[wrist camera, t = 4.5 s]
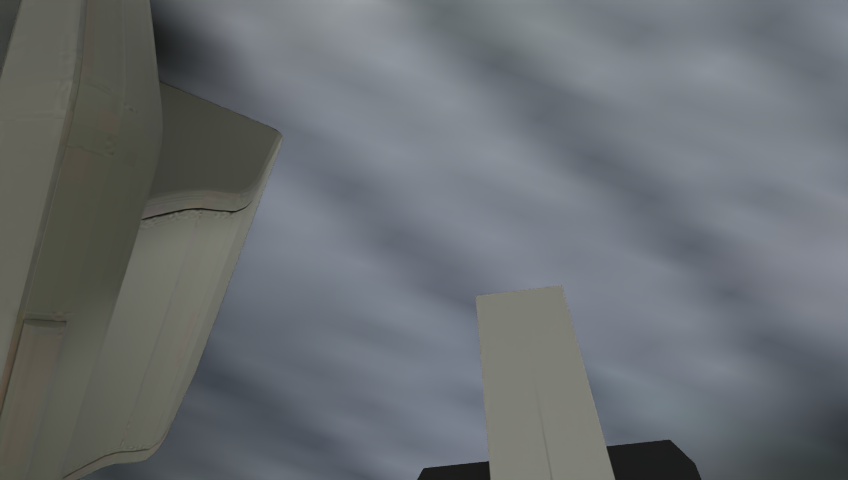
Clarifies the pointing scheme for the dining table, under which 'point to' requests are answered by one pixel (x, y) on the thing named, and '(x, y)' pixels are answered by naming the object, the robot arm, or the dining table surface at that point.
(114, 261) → the digital clock
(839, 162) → the dining table surface
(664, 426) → the dining table surface
